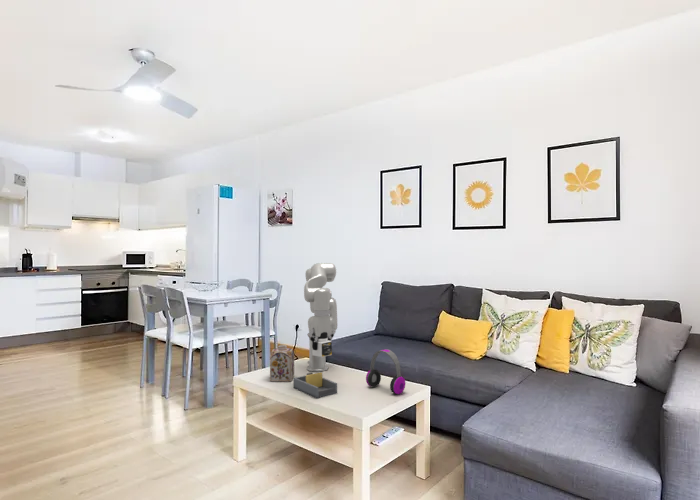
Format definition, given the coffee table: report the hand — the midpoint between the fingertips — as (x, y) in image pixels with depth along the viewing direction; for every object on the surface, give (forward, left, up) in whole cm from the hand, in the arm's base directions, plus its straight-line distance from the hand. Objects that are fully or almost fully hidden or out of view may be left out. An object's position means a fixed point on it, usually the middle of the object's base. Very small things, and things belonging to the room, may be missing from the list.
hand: (321, 348), depth 215 cm
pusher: (-3, -4, -19) cm, 20 cm away
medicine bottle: (0, 0, -4) cm, 4 cm away
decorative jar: (-29, -6, -21) cm, 36 cm away
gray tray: (-1, -4, -21) cm, 21 cm away
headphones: (+21, +24, -21) cm, 38 cm away
